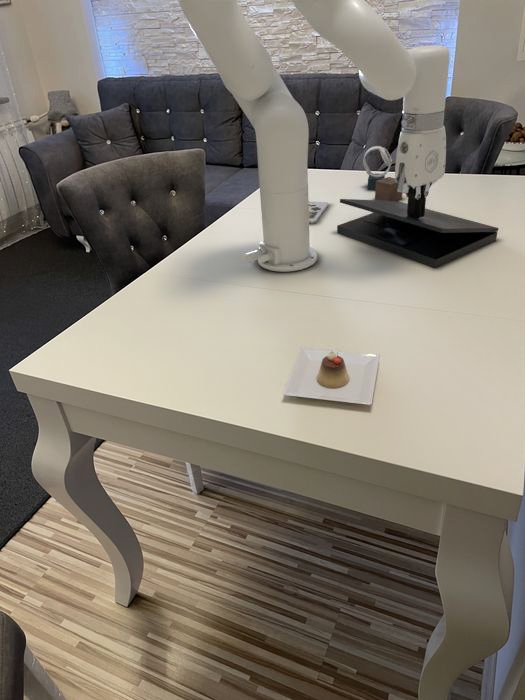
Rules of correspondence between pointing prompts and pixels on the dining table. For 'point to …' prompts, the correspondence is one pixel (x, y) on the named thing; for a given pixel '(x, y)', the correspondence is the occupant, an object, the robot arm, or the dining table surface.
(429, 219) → the laptop screen
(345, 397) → the dessert
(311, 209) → the handheld gaming device
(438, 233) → the laptop
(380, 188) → the block
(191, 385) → the dining table surface
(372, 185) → the watch
